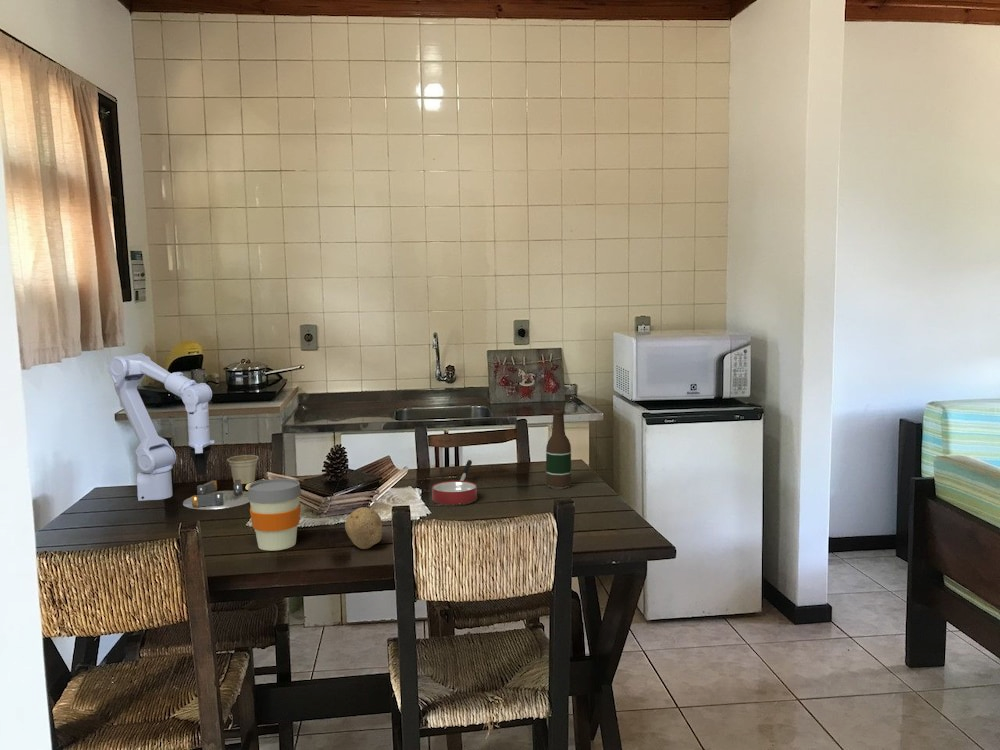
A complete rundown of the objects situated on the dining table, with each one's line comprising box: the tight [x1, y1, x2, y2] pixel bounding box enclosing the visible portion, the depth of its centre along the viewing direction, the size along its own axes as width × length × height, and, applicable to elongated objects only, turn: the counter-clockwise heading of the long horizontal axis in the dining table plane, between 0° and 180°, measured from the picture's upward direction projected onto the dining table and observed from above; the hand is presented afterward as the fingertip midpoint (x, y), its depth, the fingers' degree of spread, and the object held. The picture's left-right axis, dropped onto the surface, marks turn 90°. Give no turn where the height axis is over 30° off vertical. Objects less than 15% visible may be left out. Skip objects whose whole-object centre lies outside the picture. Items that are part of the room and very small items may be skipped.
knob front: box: [191, 492, 224, 507], centre depth 234 cm, size 8×2×3 cm, turn 108°
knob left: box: [196, 480, 218, 495], centre depth 247 cm, size 8×2×3 cm, turn 168°
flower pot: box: [226, 454, 259, 485], centre depth 262 cm, size 9×9×9 cm
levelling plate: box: [182, 490, 250, 510], centre depth 241 cm, size 20×20×2 cm
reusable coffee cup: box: [247, 478, 302, 552], centre depth 203 cm, size 13×13×15 cm
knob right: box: [233, 479, 243, 495], centre depth 248 cm, size 8×2×3 cm, turn 18°
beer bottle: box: [545, 408, 572, 487], centre depth 254 cm, size 8×8×24 cm
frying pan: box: [431, 459, 478, 504], centre depth 250 cm, size 32×13×6 cm, turn 178°
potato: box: [344, 506, 383, 550], centre depth 200 cm, size 9×9×10 cm
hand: (201, 473), depth 239 cm, fingers open, 3 cm apart
